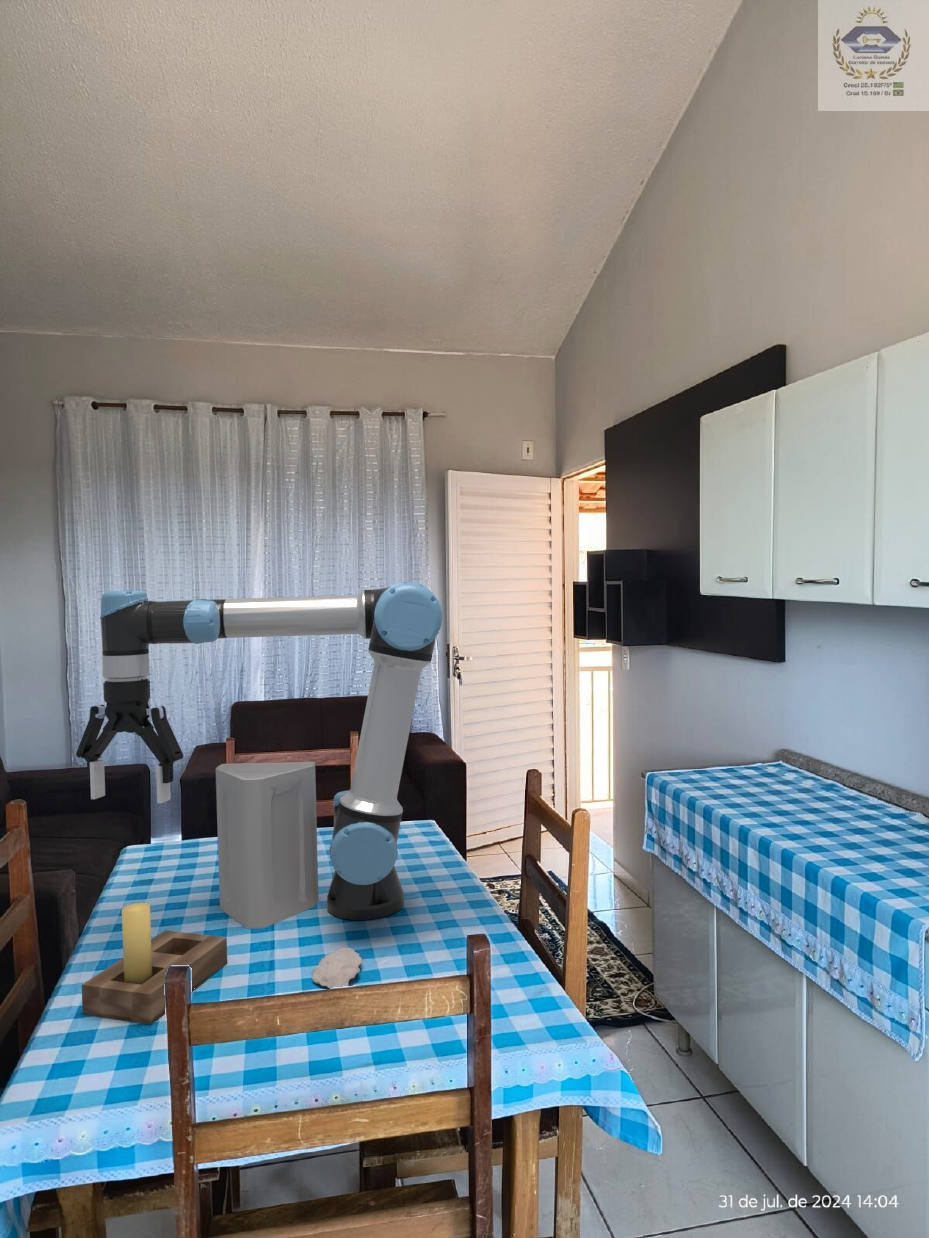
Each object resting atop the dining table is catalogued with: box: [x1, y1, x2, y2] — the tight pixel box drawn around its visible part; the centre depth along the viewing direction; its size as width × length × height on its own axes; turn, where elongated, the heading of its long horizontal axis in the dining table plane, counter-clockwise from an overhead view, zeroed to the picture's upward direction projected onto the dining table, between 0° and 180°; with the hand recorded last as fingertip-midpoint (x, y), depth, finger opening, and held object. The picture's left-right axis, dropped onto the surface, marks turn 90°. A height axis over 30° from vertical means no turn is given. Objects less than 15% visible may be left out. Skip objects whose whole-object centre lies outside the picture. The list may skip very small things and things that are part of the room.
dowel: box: [121, 902, 152, 985], centre depth 125 cm, size 4×4×14 cm
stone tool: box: [311, 947, 363, 989], centre depth 133 cm, size 8×3×15 cm
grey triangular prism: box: [215, 761, 319, 930], centre depth 159 cm, size 19×15×28 cm
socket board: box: [81, 930, 228, 1026], centre depth 130 cm, size 12×20×4 cm, turn 164°
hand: (130, 799), depth 143 cm, fingers open, 13 cm apart
